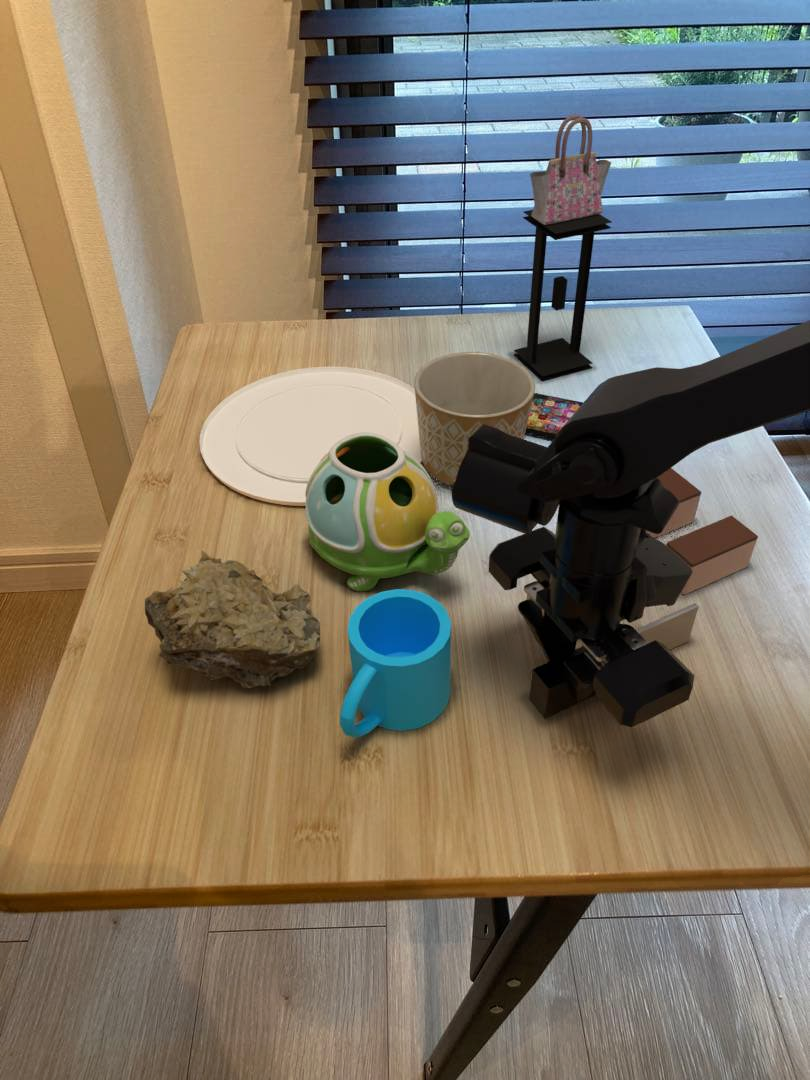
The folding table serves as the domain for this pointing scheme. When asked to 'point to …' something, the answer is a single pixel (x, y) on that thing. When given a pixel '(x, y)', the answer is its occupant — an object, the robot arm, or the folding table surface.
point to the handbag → (562, 212)
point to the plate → (302, 427)
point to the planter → (467, 405)
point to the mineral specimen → (233, 624)
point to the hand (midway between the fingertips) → (571, 686)
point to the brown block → (714, 551)
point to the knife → (551, 677)
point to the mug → (397, 662)
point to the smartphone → (550, 415)
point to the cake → (686, 497)
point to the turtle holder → (378, 513)
